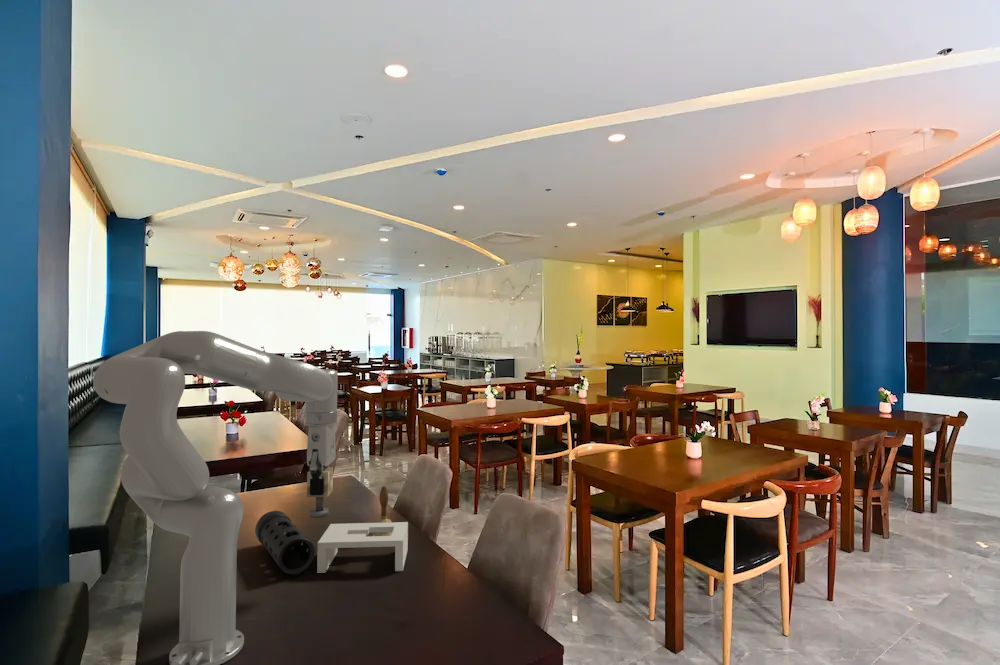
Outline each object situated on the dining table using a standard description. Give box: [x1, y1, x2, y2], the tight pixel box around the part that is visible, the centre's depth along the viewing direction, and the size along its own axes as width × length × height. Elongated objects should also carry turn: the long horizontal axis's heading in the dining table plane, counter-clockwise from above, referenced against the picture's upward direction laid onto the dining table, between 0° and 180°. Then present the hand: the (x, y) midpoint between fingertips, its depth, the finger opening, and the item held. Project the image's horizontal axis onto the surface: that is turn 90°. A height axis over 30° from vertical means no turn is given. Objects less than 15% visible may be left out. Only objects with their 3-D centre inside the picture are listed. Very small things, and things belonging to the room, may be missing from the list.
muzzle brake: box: [254, 510, 316, 577], centre depth 142 cm, size 10×28×10 cm, turn 37°
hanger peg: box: [306, 467, 334, 519], centre depth 127 cm, size 5×5×11 cm
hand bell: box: [372, 485, 392, 536], centre depth 157 cm, size 8×8×16 cm
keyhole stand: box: [316, 521, 409, 574], centre depth 141 cm, size 14×22×8 cm, turn 95°
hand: (319, 490), depth 127 cm, fingers closed on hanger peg, 5 cm apart
